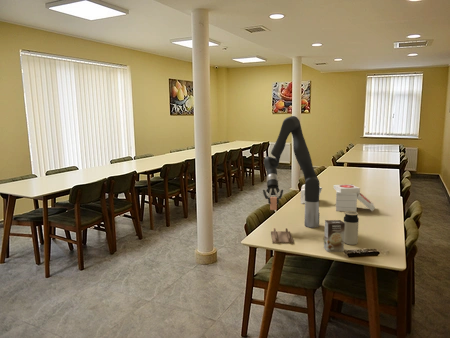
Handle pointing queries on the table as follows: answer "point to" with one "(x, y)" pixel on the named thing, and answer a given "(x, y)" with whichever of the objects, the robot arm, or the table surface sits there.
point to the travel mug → (351, 227)
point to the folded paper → (304, 193)
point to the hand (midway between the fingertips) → (273, 203)
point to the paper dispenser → (350, 198)
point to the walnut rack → (281, 236)
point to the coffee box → (334, 235)
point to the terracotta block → (273, 203)
